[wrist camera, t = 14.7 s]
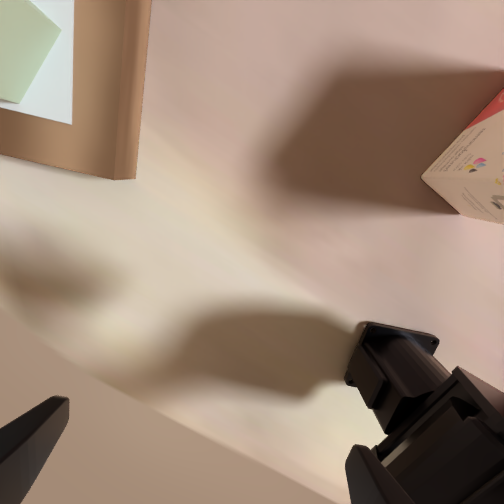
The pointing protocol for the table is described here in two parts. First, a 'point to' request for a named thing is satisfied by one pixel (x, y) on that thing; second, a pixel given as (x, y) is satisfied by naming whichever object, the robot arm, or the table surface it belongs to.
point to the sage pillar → (22, 46)
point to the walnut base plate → (84, 91)
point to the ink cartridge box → (474, 167)
